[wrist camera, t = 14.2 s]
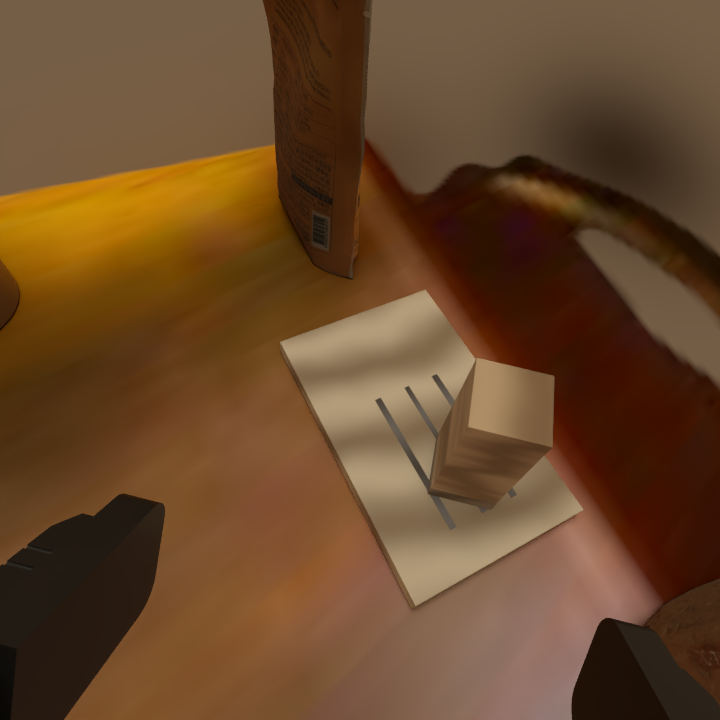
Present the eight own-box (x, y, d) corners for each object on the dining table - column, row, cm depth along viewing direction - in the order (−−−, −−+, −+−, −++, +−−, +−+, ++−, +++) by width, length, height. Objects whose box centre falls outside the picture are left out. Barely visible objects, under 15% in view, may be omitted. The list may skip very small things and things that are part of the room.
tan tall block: (427, 493, 37) (467, 427, 28) (436, 436, 39) (476, 357, 30) (491, 509, 37) (552, 447, 27) (496, 450, 39) (554, 375, 30)
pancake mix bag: (312, 303, 47) (317, -87, 23) (248, 171, 56) (204, -209, 32) (380, 284, 49) (447, -95, 25) (307, 159, 58) (306, -209, 34)
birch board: (280, 352, 44) (280, 341, 43) (422, 300, 48) (425, 289, 47) (411, 609, 34) (415, 606, 33) (574, 515, 38) (583, 509, 37)
